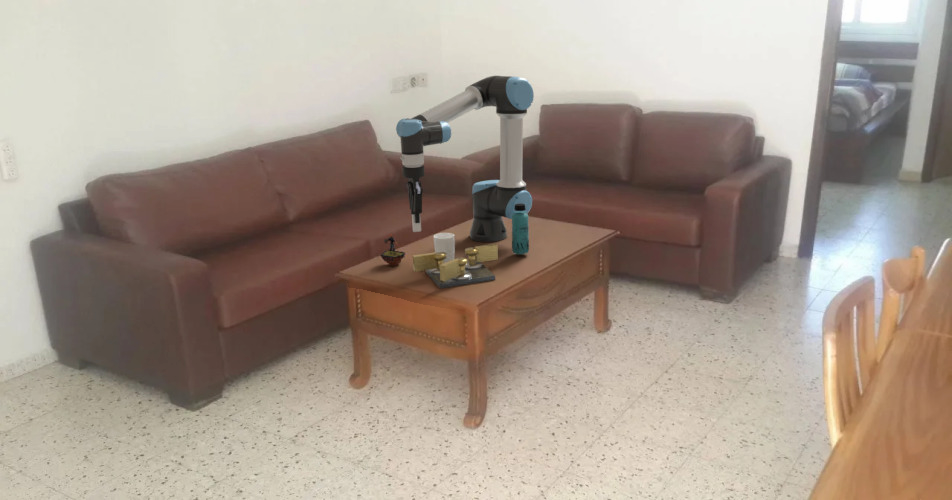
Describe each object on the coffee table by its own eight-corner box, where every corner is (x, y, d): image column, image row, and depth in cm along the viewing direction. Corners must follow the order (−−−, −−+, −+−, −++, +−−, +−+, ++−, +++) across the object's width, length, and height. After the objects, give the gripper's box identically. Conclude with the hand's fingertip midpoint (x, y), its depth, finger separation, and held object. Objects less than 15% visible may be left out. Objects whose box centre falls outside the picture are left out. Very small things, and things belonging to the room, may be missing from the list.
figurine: (410, 263, 294) (408, 232, 290) (397, 270, 288) (395, 238, 284) (389, 260, 299) (387, 229, 295) (376, 266, 293) (373, 235, 289)
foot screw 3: (468, 266, 281) (467, 250, 279) (463, 262, 285) (463, 247, 283) (499, 262, 284) (498, 246, 283) (494, 258, 289) (494, 242, 287)
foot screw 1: (444, 265, 283) (443, 249, 281) (448, 269, 279) (447, 253, 277) (412, 270, 280) (411, 254, 278) (416, 274, 275) (415, 258, 273)
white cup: (446, 256, 301) (444, 231, 298) (460, 260, 295) (459, 235, 292) (430, 261, 295) (429, 236, 292) (444, 266, 290) (443, 240, 287)
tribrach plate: (478, 264, 290) (478, 255, 289) (495, 279, 274) (495, 270, 273) (426, 272, 284) (425, 263, 283) (440, 288, 268) (439, 279, 267)
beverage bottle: (508, 256, 298) (507, 204, 292) (519, 251, 303) (518, 201, 296) (521, 259, 294) (520, 207, 288) (533, 254, 298) (532, 203, 292)
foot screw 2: (460, 271, 277) (460, 254, 275) (471, 273, 274) (470, 257, 272) (437, 280, 268) (436, 264, 266) (447, 283, 265) (446, 266, 263)
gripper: (398, 163, 277) (402, 227, 284) (407, 169, 265) (411, 237, 272) (418, 160, 279) (422, 225, 286) (428, 167, 267) (432, 234, 274)
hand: (417, 230), depth 279 cm, fingers closed
